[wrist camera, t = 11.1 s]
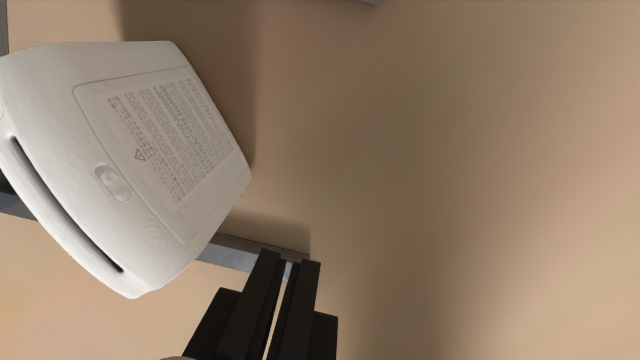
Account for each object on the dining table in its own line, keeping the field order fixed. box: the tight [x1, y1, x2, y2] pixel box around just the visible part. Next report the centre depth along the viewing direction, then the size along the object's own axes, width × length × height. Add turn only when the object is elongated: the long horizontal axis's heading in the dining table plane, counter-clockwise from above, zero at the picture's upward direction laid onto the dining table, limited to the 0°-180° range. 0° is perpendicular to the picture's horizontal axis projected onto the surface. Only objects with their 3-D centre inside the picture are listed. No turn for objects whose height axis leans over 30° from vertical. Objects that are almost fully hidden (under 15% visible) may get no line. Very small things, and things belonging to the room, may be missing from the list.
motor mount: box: [0, 0, 379, 282], centre depth 19 cm, size 26×19×10 cm
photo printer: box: [0, 41, 252, 299], centre depth 19 cm, size 10×4×12 cm, turn 28°
